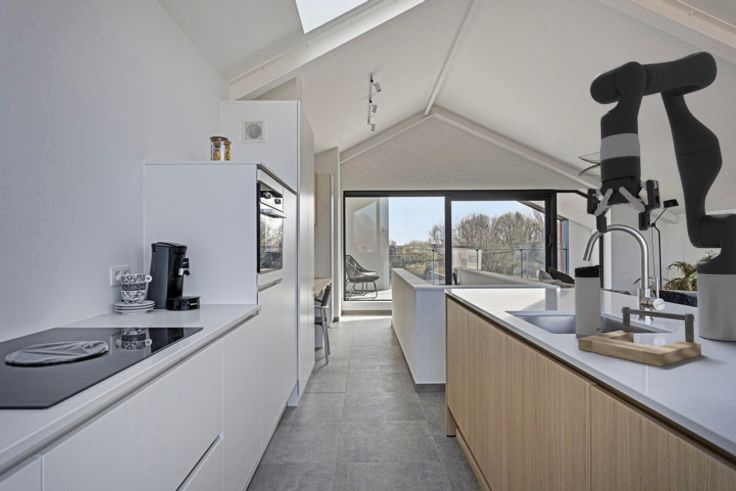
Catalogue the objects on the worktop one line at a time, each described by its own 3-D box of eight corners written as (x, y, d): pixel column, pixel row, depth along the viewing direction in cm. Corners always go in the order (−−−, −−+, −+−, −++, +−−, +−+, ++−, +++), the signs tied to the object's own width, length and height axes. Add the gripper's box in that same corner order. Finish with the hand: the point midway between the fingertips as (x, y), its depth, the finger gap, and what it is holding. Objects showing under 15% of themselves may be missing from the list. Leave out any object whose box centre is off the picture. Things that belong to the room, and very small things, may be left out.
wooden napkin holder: (620, 339, 108) (619, 306, 109) (702, 354, 93) (700, 314, 93) (578, 348, 99) (577, 312, 100) (660, 366, 84) (659, 322, 84)
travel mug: (606, 340, 108) (604, 265, 108) (579, 339, 109) (578, 265, 109) (598, 335, 114) (596, 264, 114) (572, 335, 115) (571, 264, 116)
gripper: (665, 152, 85) (667, 230, 85) (597, 165, 97) (599, 233, 97) (646, 149, 81) (648, 230, 81) (578, 163, 93) (580, 233, 93)
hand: (622, 231), depth 89 cm, fingers open, 8 cm apart
